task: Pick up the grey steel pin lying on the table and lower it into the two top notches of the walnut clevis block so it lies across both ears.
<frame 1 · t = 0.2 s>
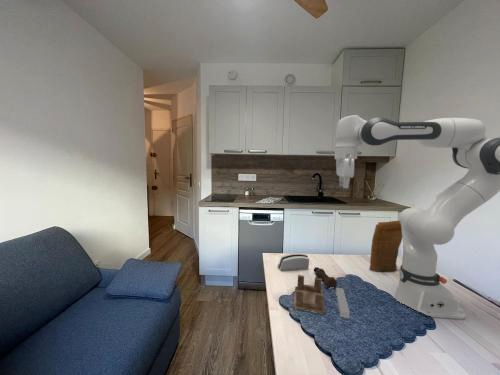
hand: (343, 187, 94), 47 cm above the table, tool pointing down, fingers open, 8 cm apart
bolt: (323, 281, 108), on the table
grey napkin holder: (293, 269, 119), on the table
clevis block: (308, 300, 91), on the table
steel pin: (341, 305, 89), on the table
pancake mix bag: (384, 270, 119), on the table
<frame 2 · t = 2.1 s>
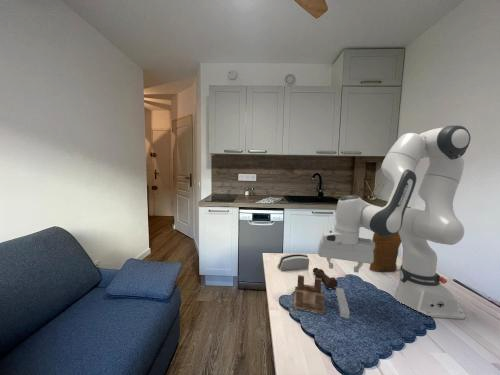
hand: (343, 269, 87), 15 cm above the table, tool pointing down, fingers open, 8 cm apart
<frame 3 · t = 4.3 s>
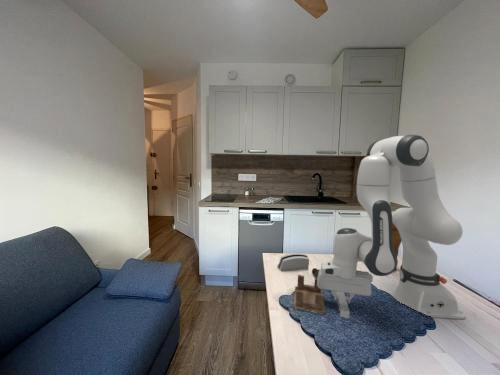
hand: (341, 301, 89), 2 cm above the table, tool pointing down, fingers closed on steel pin, 3 cm apart
steel pin: (341, 305, 89), on the table, touching gripper
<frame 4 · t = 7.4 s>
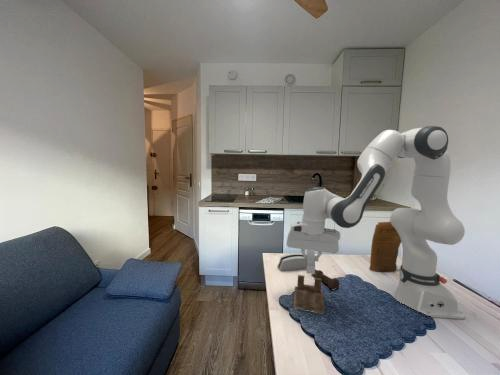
hand: (310, 260, 89), 18 cm above the table, tool pointing down, fingers closed on steel pin, 3 cm apart
steel pin: (310, 264, 89), point 16 cm above the table, touching gripper
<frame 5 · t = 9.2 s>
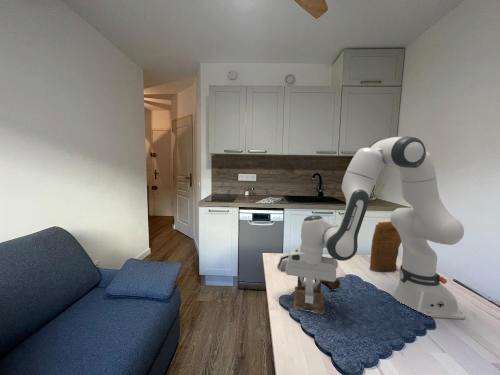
hand: (309, 287, 90), 6 cm above the table, tool pointing down, fingers closed on steel pin, 3 cm apart
steel pin: (308, 291, 91), point 4 cm above the table, touching gripper
when the fingers open (5 cm above the table, at t = 10.0 s): steel pin stays where it is, resting on clevis block.
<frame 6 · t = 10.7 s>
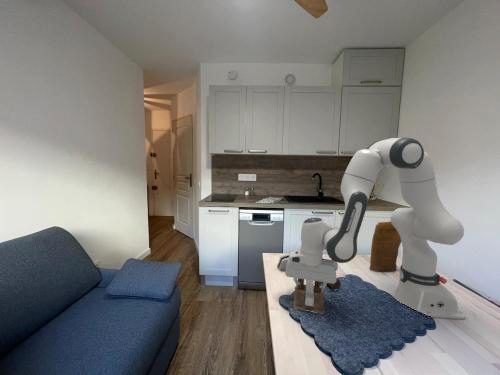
hand: (309, 289, 91), 5 cm above the table, tool pointing down, fingers open, 8 cm apart
steel pin: (309, 293, 91), point 3 cm above the table, touching clevis block
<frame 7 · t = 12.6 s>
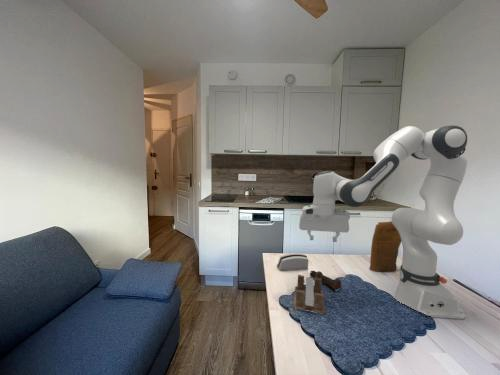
hand: (322, 240, 94), 24 cm above the table, tool pointing down, fingers open, 8 cm apart
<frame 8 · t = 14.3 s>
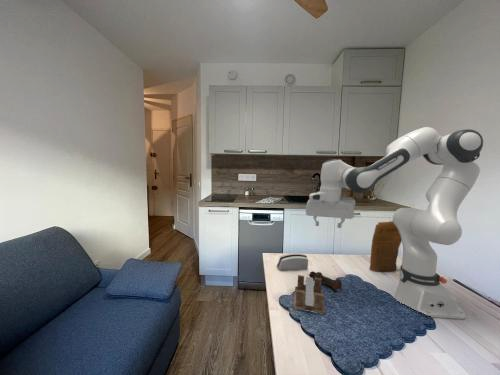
hand: (328, 226, 98), 29 cm above the table, tool pointing down, fingers open, 8 cm apart
at the end: steel pin 0.1 cm off-centre on the clevis block, point 3.0 cm above the clevis block's base; steel pin tilted 0°; the gripper is holding nothing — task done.
